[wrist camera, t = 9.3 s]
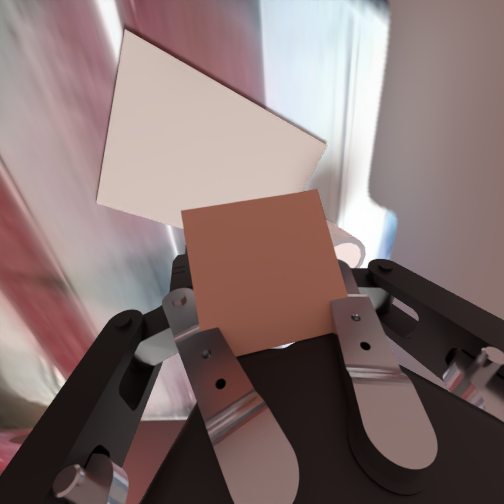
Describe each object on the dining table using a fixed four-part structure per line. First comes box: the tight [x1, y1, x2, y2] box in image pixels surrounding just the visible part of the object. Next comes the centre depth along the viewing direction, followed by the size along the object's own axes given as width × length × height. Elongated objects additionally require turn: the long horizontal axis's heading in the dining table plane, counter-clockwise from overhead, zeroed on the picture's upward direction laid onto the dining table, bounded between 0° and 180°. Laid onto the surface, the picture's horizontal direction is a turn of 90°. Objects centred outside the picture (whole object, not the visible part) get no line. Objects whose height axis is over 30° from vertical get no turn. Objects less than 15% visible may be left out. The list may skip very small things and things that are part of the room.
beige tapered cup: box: [326, 220, 365, 268], centre depth 32 cm, size 7×7×7 cm
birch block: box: [181, 190, 348, 357], centre depth 12 cm, size 5×5×10 cm
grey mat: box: [96, 29, 328, 229], centre depth 27 cm, size 22×16×1 cm
